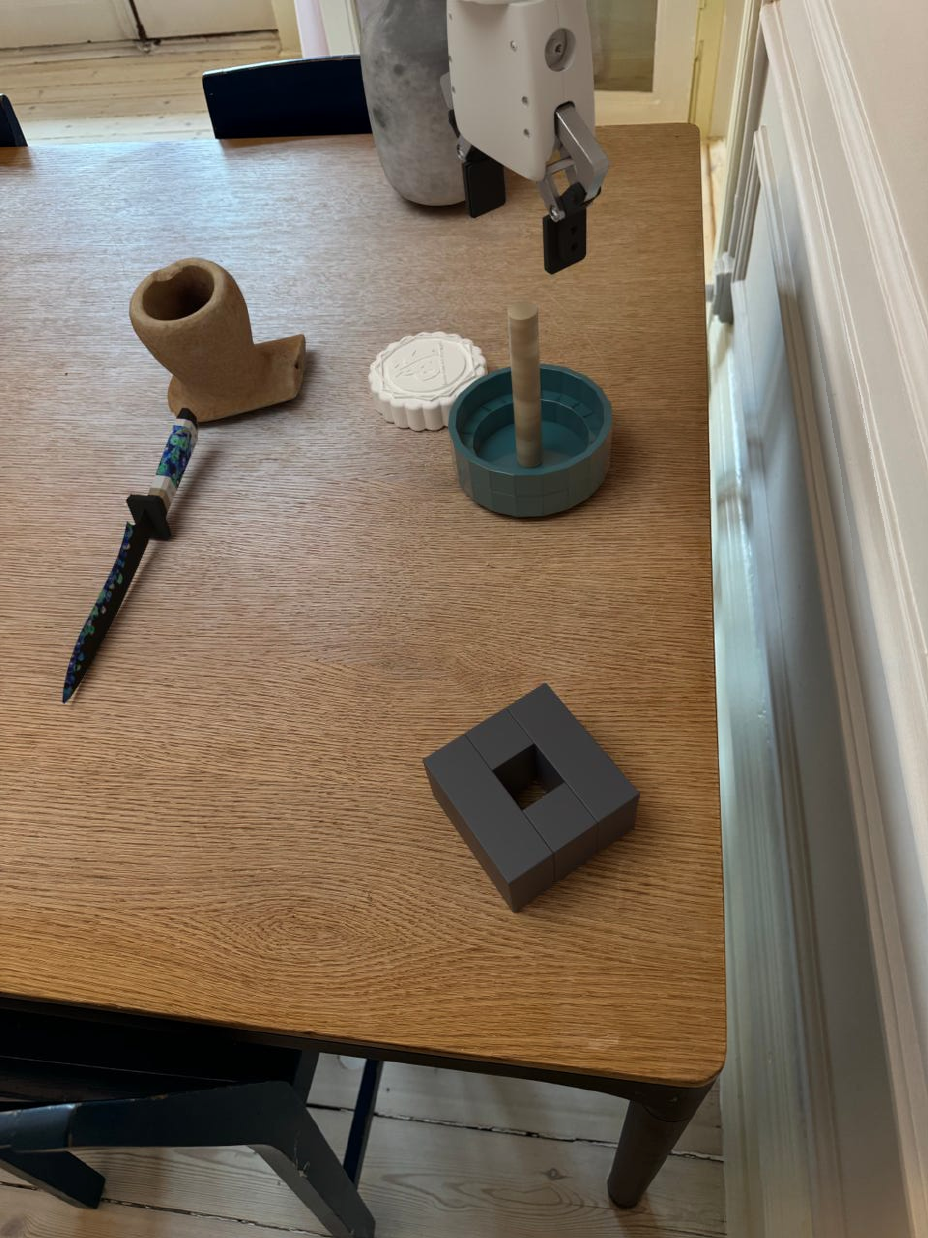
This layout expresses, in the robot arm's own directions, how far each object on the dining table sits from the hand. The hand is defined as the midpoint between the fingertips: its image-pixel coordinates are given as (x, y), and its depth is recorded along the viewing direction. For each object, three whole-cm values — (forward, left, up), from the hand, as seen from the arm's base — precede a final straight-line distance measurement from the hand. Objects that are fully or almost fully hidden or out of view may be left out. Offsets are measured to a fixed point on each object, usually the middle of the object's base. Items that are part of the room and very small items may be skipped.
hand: (524, 236), depth 61 cm
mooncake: (+2, -15, -23) cm, 28 cm away
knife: (+35, -12, -23) cm, 44 cm away
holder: (+20, +28, -23) cm, 41 cm away
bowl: (0, 0, -23) cm, 23 cm away
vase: (-20, -47, -23) cm, 56 cm away
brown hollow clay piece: (+18, -27, -23) cm, 40 cm away
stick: (0, 0, -22) cm, 22 cm away
